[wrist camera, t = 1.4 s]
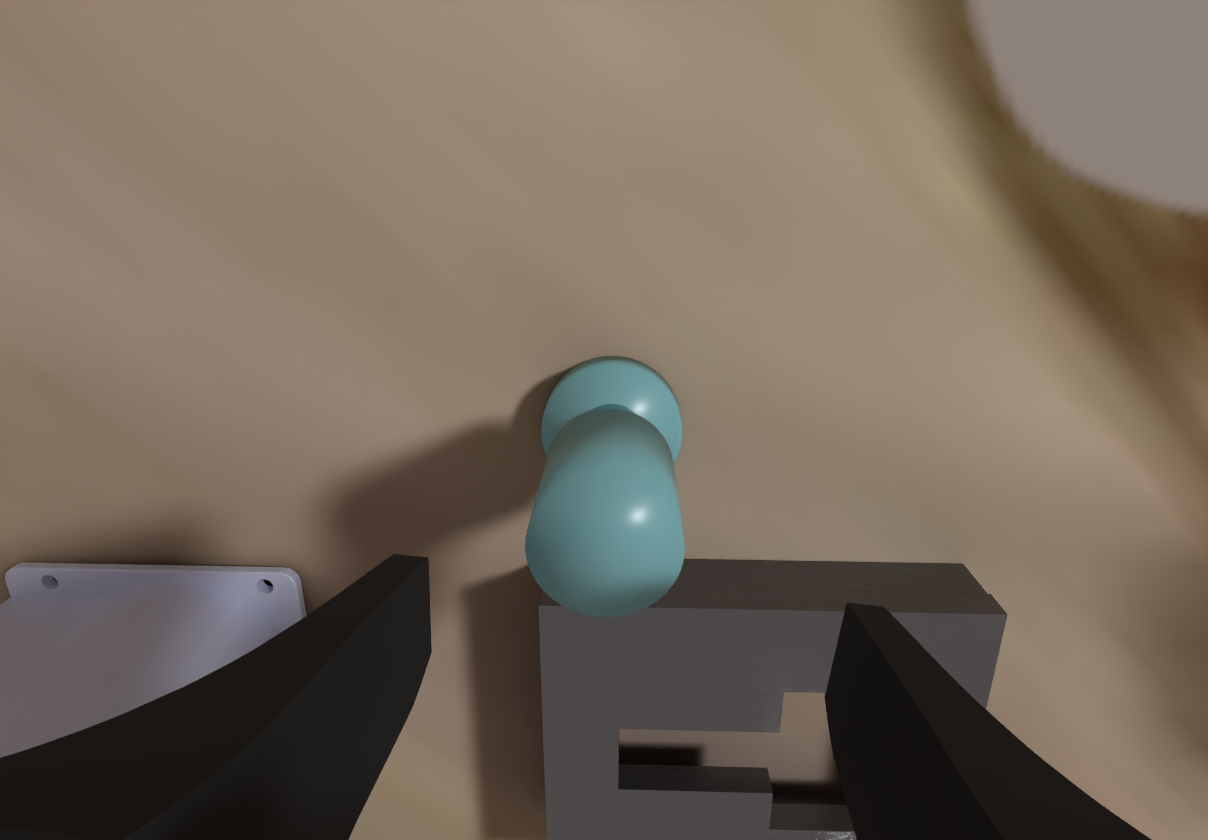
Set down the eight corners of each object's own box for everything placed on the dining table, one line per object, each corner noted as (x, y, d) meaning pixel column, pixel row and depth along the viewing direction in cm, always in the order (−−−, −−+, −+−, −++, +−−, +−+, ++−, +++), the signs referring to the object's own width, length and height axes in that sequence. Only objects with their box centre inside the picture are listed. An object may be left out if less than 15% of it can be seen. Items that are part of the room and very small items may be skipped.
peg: (546, 482, 22) (509, 631, 15) (543, 355, 21) (500, 456, 14) (677, 484, 22) (699, 634, 15) (682, 356, 21) (709, 459, 14)
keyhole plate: (555, 814, 27) (548, 886, 24) (548, 553, 23) (538, 605, 21) (911, 824, 27) (943, 898, 24) (963, 561, 23) (1007, 614, 20)
